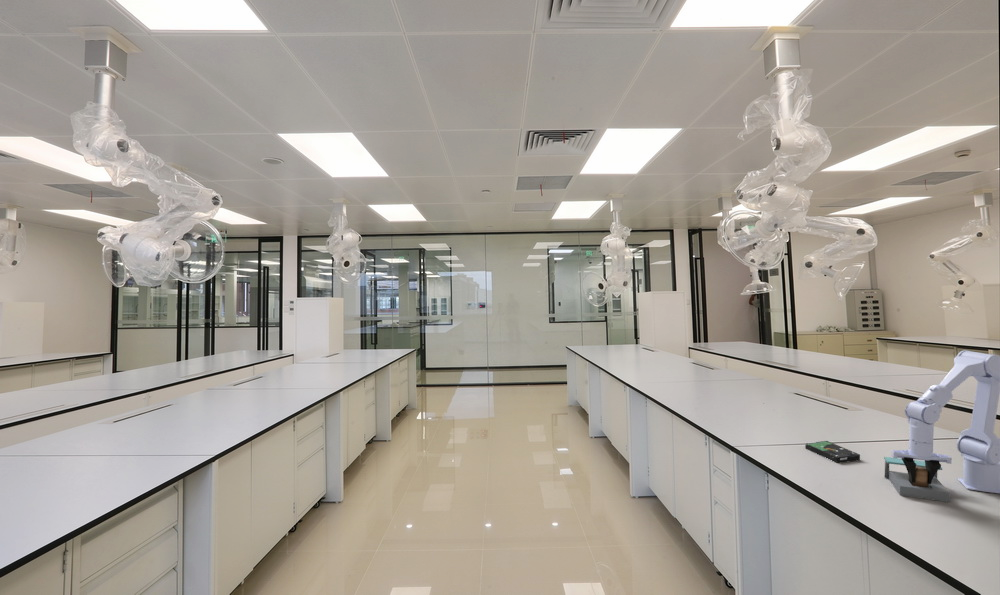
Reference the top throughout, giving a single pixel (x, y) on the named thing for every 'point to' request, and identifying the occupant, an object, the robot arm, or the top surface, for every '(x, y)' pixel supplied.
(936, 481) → the socket block
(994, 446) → the robot arm
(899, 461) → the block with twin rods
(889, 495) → the top surface
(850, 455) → the disk drive
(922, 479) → the peg
